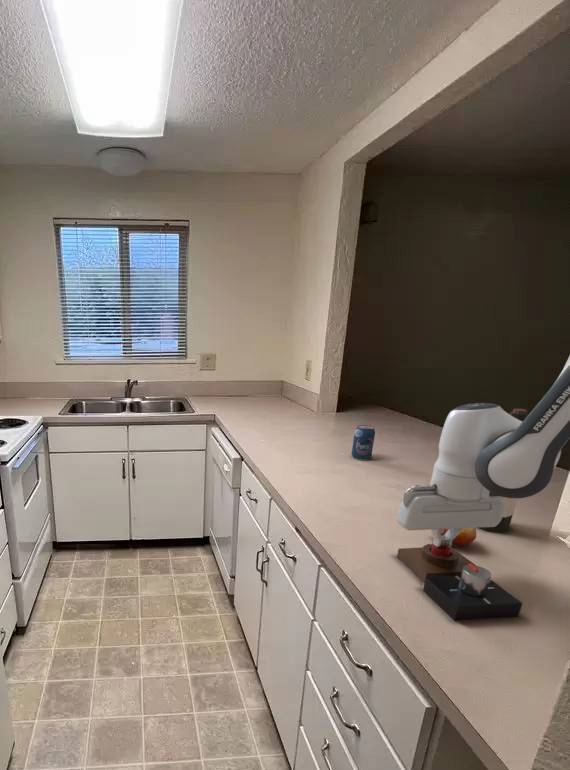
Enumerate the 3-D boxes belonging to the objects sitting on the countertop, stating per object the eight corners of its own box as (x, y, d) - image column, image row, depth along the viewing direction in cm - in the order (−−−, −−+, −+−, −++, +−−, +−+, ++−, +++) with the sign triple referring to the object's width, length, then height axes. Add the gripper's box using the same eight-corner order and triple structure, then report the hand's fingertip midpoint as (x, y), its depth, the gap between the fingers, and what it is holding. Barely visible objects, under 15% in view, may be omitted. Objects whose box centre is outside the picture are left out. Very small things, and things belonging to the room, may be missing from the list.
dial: (492, 596, 78) (498, 576, 77) (467, 596, 79) (473, 576, 77) (475, 582, 83) (481, 562, 81) (452, 582, 83) (457, 563, 81)
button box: (447, 554, 98) (451, 539, 97) (480, 579, 89) (485, 562, 87) (396, 557, 97) (399, 541, 96) (424, 582, 88) (428, 565, 87)
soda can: (355, 460, 161) (359, 429, 157) (348, 454, 168) (352, 424, 164) (374, 460, 161) (379, 429, 157) (366, 454, 167) (371, 424, 163)
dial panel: (480, 587, 86) (484, 573, 85) (518, 616, 78) (522, 602, 77) (422, 590, 86) (425, 576, 84) (454, 620, 77) (458, 605, 76)
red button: (442, 548, 94) (444, 541, 93) (454, 557, 90) (456, 549, 90) (426, 549, 93) (428, 542, 93) (437, 558, 90) (439, 550, 89)
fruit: (436, 523, 109) (460, 504, 104) (462, 548, 105) (489, 529, 100) (421, 532, 105) (445, 513, 99) (447, 559, 101) (475, 540, 95)
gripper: (416, 491, 83) (402, 555, 87) (517, 488, 84) (498, 550, 89) (397, 480, 88) (385, 539, 93) (492, 476, 90) (476, 536, 95)
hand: (441, 545), depth 91 cm, fingers closed
